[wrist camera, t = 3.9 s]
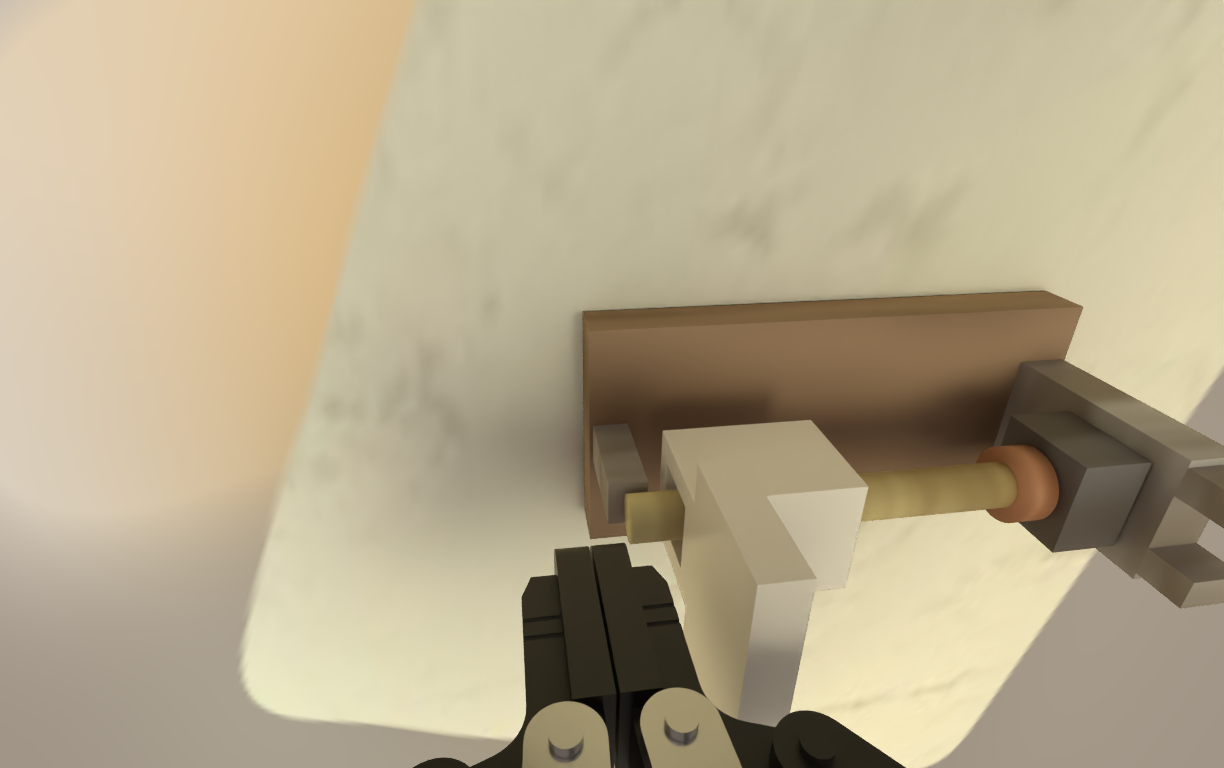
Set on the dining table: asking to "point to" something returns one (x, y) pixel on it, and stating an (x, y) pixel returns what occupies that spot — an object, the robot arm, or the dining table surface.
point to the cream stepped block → (757, 552)
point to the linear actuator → (909, 421)
